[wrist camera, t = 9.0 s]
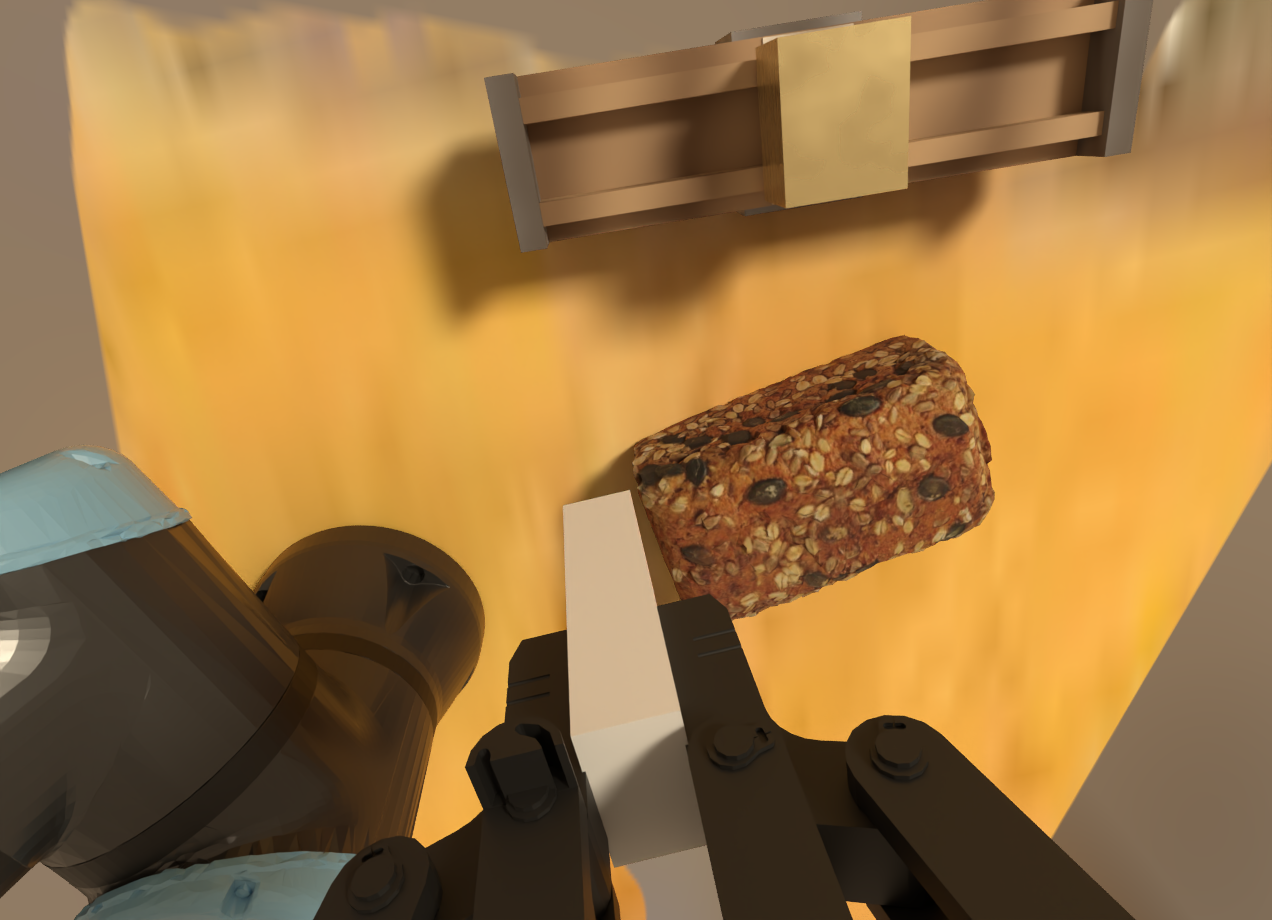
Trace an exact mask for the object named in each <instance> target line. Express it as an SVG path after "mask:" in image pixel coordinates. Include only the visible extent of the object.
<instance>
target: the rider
mask: <svg viewBox="0 0 1272 920" xmlns="http://www.w3.org/2000/svg"><path fill="white" fill-rule="evenodd" d="M755 50H756V66H757V82H758V98H759V114H760V130H761V146H762V162H763V178H764V194H765V201H767V202H770V203H772V204H775V205H778V206H781V207H783V208H792V207H798V206H804V205H810V204H816V203H822V202H828V201H834V200H840V199H846V198H853V197H859V196H865V195H871V194H877V193H883V192H889V191H895V190H901V189H907V188H908V146H909V99H910V52H911V16H907V17H901V18H895V19H888V20H882V21H876V22H870V23H864V24H858V25H851V26H845V27H839V28H833V29H827V30H821V31H815V32H808V33H802V34H796V35H790V36H784V37H778V38H775V39H773V40H771V41H769V42H767V43H765V44H763V45H761V46H758V47H756V48H755Z"/></svg>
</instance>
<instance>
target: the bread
mask: <svg viewBox="0 0 1272 920" xmlns="http://www.w3.org/2000/svg"><path fill="white" fill-rule="evenodd" d="M974 395H975V394H974V392H973V391H972V389H971V388H970V387H969V386H968V385H967V381H966V377H965V373H964V372H963V370H962V369H961V367H960V366H959V364H958V363H957V362H956V361H955V360H953V359H952V358H951V357H949V356H948V355H947V354H946V353H945V352H942V351H938V350H936V349H935V348H934V347H932V346H931V345H929V344H928V343H926V342H925V341H924V340H920V339H919V338H910V337H907V336H905V335H904V336H899V337H894V338H890V339H887V340H884V341H882V342H879V343H876V344H874V345H873V346H870V347H868V348H865V349H863V350H860V351H858V352H855V353H853V354H850V355H846V356H843V357H840V358H837V359H835V360H833V361H832V362H831V363H830V364H826V365H820V366H817V367H814V368H812V369H808V370H805V371H803V372H801V373H799V374H798V375H796V376H794V377H789V378H787V379H786V380H785V381H782V382H778V383H775V384H772V385H770V386H769V387H767V388H762V389H759V390H757V391H755V392H753V393H751V394H749V395H745V396H741V397H738V398H736V399H734V400H733V402H732V403H730V404H728V405H718V406H716V407H714V408H712V409H710V410H708V411H705V412H703V413H700V414H697V415H695V416H692V417H690V418H688V419H685V420H683V421H681V422H679V423H677V424H675V425H672V426H670V427H668V428H666V429H664V430H662V431H661V432H659V433H657V434H655V435H652V436H649V437H647V438H645V439H643V440H641V441H640V442H639V443H638V444H636V445H635V448H634V455H635V460H634V461H633V462H632V464H633V473H634V476H635V479H636V481H637V483H638V487H637V488H638V494H639V496H640V498H641V501H642V503H643V506H644V508H645V510H646V513H647V517H648V519H649V521H650V523H651V526H652V529H653V531H654V533H655V536H656V538H657V541H658V544H659V547H660V550H661V552H662V555H663V558H664V561H665V563H666V565H667V567H668V569H669V572H670V574H671V576H672V578H673V581H674V584H675V587H676V590H677V592H678V594H679V596H680V599H681V600H686V599H690V598H694V597H698V596H702V595H707V594H710V595H712V596H713V597H714V598H715V599H716V600H718V601H719V602H720V603H721V604H722V605H724V606H725V607H726V608H727V610H728V612H729V615H730V617H731V620H734V619H738V618H744V617H748V616H749V617H752V616H756V615H757V614H758V613H759V612H760V611H762V610H764V609H766V608H768V607H770V606H778V605H779V604H783V603H789V602H792V601H794V600H796V599H798V598H799V597H801V596H802V597H805V596H807V595H809V594H811V593H814V592H818V591H819V590H820V589H821V588H822V587H824V586H827V585H833V584H834V583H835V582H836V581H846V580H848V579H851V578H853V577H855V576H856V575H857V574H859V573H860V572H862V571H864V570H866V569H869V568H871V567H872V566H874V565H875V564H877V563H880V562H883V561H887V560H890V559H893V558H896V557H899V556H901V555H904V554H907V553H916V552H920V551H923V550H925V549H926V548H928V547H930V546H933V545H935V544H936V543H938V542H939V541H946V540H949V539H950V538H956V537H959V536H961V535H962V534H963V533H965V532H967V531H969V530H971V529H972V528H974V527H976V526H979V525H980V524H981V523H982V521H983V520H984V518H985V517H986V515H987V514H988V512H989V510H990V508H991V506H992V504H993V501H994V496H995V492H994V490H993V489H992V486H991V477H990V470H989V468H988V465H987V463H989V462H990V461H991V460H992V457H991V446H990V443H989V441H988V438H987V433H986V430H985V428H984V426H983V424H982V421H981V420H980V419H979V417H978V414H977V410H976V408H975V406H974V404H973V400H974Z"/></svg>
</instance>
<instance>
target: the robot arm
mask: <svg viewBox="0 0 1272 920" xmlns="http://www.w3.org/2000/svg"><path fill="white" fill-rule="evenodd" d="M191 518H192V517H191V515H190V514H189V512H188V511H187V510H186V509H183V508H178V507H177V506H176V505H175V504H174V503H173V502H172V501H171V500H170V499H169V498H168V497H167V496H166V495H165V494H164V493H163V492H162V491H161V490H160V489H159V488H158V487H157V486H156V485H155V484H154V483H153V482H152V481H151V480H150V479H149V478H148V477H147V476H146V475H145V474H144V473H143V472H142V471H141V470H140V469H139V468H138V467H137V466H136V465H135V464H134V463H133V462H132V461H131V460H129V459H128V458H127V457H125V456H124V455H122V454H120V453H118V452H116V451H114V450H111V449H108V448H105V447H100V446H93V445H78V446H71V447H66V448H63V449H60V450H57V451H54V452H51V453H49V454H46V455H44V456H41V457H39V458H37V459H34V460H32V461H29V462H27V463H24V464H22V465H20V466H17V467H15V468H12V469H10V470H8V471H5V472H3V473H0V898H1V897H2V896H3V895H4V894H5V893H6V892H7V891H8V890H9V889H10V888H11V887H12V886H13V885H15V883H16V882H18V881H19V880H20V879H21V878H22V877H23V876H24V875H25V874H26V873H27V872H28V871H29V870H30V869H31V868H33V867H34V866H35V865H36V864H37V863H38V862H41V863H42V864H43V865H45V866H47V867H49V868H50V869H51V870H53V871H54V872H55V873H57V874H58V875H59V876H61V877H62V878H64V879H65V880H66V881H68V882H69V884H71V885H72V886H74V887H75V888H77V889H78V890H79V891H80V892H82V893H83V894H84V895H85V896H86V897H87V898H88V902H89V904H88V905H87V906H85V907H84V908H83V909H82V911H81V912H80V913H79V914H78V915H77V916H76V917H75V919H74V920H621V919H620V909H619V903H618V900H617V897H616V893H615V890H614V887H613V884H612V881H611V869H610V857H609V853H610V856H611V859H612V862H613V865H614V868H615V867H619V866H623V865H627V864H631V863H635V862H639V861H643V860H647V859H651V858H656V857H660V856H664V855H668V854H672V853H676V852H680V851H684V850H688V849H693V848H697V847H701V846H705V845H707V848H708V852H709V857H710V861H711V866H712V871H713V875H714V879H715V884H716V889H717V893H718V898H719V902H720V907H721V911H722V916H723V920H853V919H852V916H851V914H850V911H849V908H848V906H847V903H846V901H850V902H859V903H866V905H867V907H868V908H869V909H870V911H871V912H872V914H873V915H874V917H875V918H876V920H1135V919H1134V918H1133V917H1132V916H1131V915H1130V914H1129V913H1128V912H1127V911H1126V910H1125V909H1124V908H1123V907H1122V906H1121V905H1119V903H1118V902H1116V901H1115V900H1114V899H1113V898H1112V897H1111V896H1110V895H1109V894H1108V893H1107V892H1106V891H1105V890H1104V889H1103V888H1102V887H1101V886H1100V885H1098V883H1097V882H1096V881H1094V880H1093V879H1092V878H1091V877H1090V876H1089V875H1088V874H1087V873H1086V872H1085V871H1084V870H1083V869H1082V868H1081V867H1080V866H1079V865H1078V864H1077V863H1076V862H1075V861H1073V859H1071V858H1070V857H1069V856H1068V855H1067V854H1066V853H1065V852H1064V851H1063V850H1062V849H1061V848H1060V847H1059V846H1058V845H1057V844H1056V843H1055V842H1053V840H1052V839H1051V838H1049V837H1048V836H1047V835H1046V834H1045V833H1044V832H1043V831H1042V830H1041V829H1040V828H1039V827H1038V826H1037V825H1036V824H1035V823H1034V822H1033V821H1032V820H1031V819H1030V818H1029V817H1027V816H1026V815H1025V814H1024V813H1023V812H1022V811H1021V810H1020V809H1019V808H1018V807H1017V806H1016V805H1015V804H1014V803H1013V802H1012V801H1011V800H1010V799H1009V798H1008V797H1007V796H1006V795H1004V794H1003V793H1002V792H1001V791H1000V790H999V789H998V788H997V787H996V786H995V785H994V784H993V783H992V782H991V781H990V780H989V779H988V778H987V777H986V776H985V775H984V774H982V773H981V772H980V771H979V770H978V769H977V768H976V767H975V766H974V765H973V764H972V763H971V762H970V761H969V760H968V759H967V758H966V757H965V756H964V755H963V754H962V753H960V752H959V751H958V750H957V749H956V748H955V747H954V746H953V745H952V744H951V743H950V742H949V741H948V740H947V739H946V738H945V737H944V736H943V735H942V734H940V733H939V732H938V731H936V730H935V729H933V728H932V727H930V726H929V725H927V724H926V723H924V722H922V721H918V720H915V719H912V718H909V717H906V716H891V715H883V716H880V717H876V718H872V719H869V720H866V721H864V722H863V723H862V724H860V725H859V726H858V727H856V728H855V729H854V730H852V732H851V734H850V736H849V738H848V740H847V742H842V741H820V740H813V739H805V738H802V737H799V736H796V735H794V734H791V733H789V732H788V731H786V730H784V729H783V728H781V727H779V726H778V725H777V724H776V723H775V722H774V721H773V720H772V719H771V718H770V716H769V714H768V712H767V711H766V709H765V707H764V704H763V702H762V699H761V696H760V694H759V691H758V688H757V686H756V683H755V681H754V678H753V675H752V673H751V670H750V667H749V665H748V662H747V660H746V657H745V654H744V652H743V649H742V648H741V644H740V641H739V638H738V636H737V633H736V632H735V628H734V625H733V623H732V620H731V617H730V615H729V612H728V610H727V608H726V607H725V606H724V605H722V604H721V603H720V602H719V601H718V600H716V599H715V598H714V597H713V596H712V595H710V594H707V595H702V596H698V597H694V598H690V599H686V600H681V601H677V602H673V603H669V604H665V605H660V606H657V603H656V599H655V595H654V590H653V586H652V582H651V578H650V573H649V569H648V565H647V561H646V556H645V552H644V548H643V544H642V539H641V535H640V531H639V527H638V523H637V518H636V514H635V510H634V506H633V501H632V497H631V493H630V490H627V491H623V492H619V493H614V494H610V495H606V496H602V497H597V498H593V499H589V500H585V501H580V502H576V503H572V504H568V505H563V522H564V552H565V583H566V613H567V630H563V631H559V632H555V633H551V634H546V635H542V636H538V637H534V638H530V639H525V640H522V641H521V643H520V645H519V647H518V648H517V650H516V652H515V653H514V655H513V657H512V659H511V660H510V662H509V675H508V688H507V700H506V703H507V707H506V712H505V722H504V723H502V724H499V725H498V726H496V727H495V728H493V729H492V730H491V731H489V732H488V733H487V734H485V735H484V736H482V738H481V739H480V740H479V741H478V743H477V744H476V745H475V746H474V748H473V749H472V750H471V752H470V755H469V757H468V760H467V763H466V766H465V768H466V771H467V773H468V775H469V778H470V780H471V782H472V784H473V787H474V789H475V791H476V794H477V796H478V798H479V801H480V803H481V805H482V807H483V811H482V812H480V813H479V814H478V815H477V816H476V817H475V818H474V819H473V820H472V821H471V822H469V823H468V824H466V825H465V826H463V827H462V828H460V829H459V830H457V831H456V832H454V833H452V834H450V835H448V836H446V837H445V838H443V839H441V840H439V841H437V842H436V843H434V844H432V845H430V846H428V847H426V848H425V847H424V846H422V845H421V844H420V843H419V842H418V841H417V840H416V839H415V838H412V835H413V830H414V825H415V821H416V816H417V812H418V807H419V802H420V798H421V793H422V789H423V784H424V779H425V775H426V770H427V766H428V761H429V756H430V752H431V747H432V742H433V737H434V733H435V729H436V726H437V725H438V723H439V722H440V720H441V719H442V717H443V716H444V714H445V713H446V711H447V710H448V709H449V707H450V706H451V704H452V703H453V701H454V700H455V698H456V697H457V695H458V694H459V693H460V692H461V691H462V689H463V688H464V687H465V686H466V684H467V683H468V681H469V680H470V678H471V676H472V675H473V673H474V670H475V668H476V666H477V663H478V660H479V656H480V652H481V647H482V641H483V636H484V629H485V617H484V610H483V605H482V602H481V599H480V596H479V594H478V591H477V589H476V587H475V585H474V584H473V582H472V581H471V579H470V577H469V576H468V575H467V574H466V572H465V571H464V570H463V569H462V568H461V567H460V565H459V564H458V563H457V562H455V561H454V560H453V559H452V558H451V557H450V556H449V555H447V554H446V553H445V552H443V551H442V550H440V549H439V548H437V547H436V546H434V545H432V544H431V543H429V542H427V541H425V540H423V539H421V538H418V537H416V536H413V535H411V534H408V533H405V532H402V531H398V530H394V529H389V528H384V527H377V526H344V527H337V528H332V529H328V530H324V531H320V532H318V533H315V534H312V535H310V536H308V537H305V538H303V539H301V540H300V541H298V542H296V543H295V544H293V545H291V546H290V547H289V548H288V549H286V550H285V551H284V552H283V553H282V554H281V555H279V557H278V558H277V559H276V560H275V561H274V562H273V564H272V565H271V566H270V568H269V569H268V570H267V572H266V573H265V575H264V576H263V578H262V579H261V580H260V582H259V583H258V585H257V587H256V588H255V590H254V592H253V591H252V590H251V589H250V588H249V587H248V586H247V584H246V583H245V582H244V581H243V580H242V579H241V578H240V577H239V576H238V574H237V573H236V572H235V571H234V570H233V569H232V568H231V567H230V566H229V564H228V563H227V562H226V561H225V560H224V559H223V558H222V557H221V555H220V554H219V553H218V552H217V551H216V550H215V549H214V548H213V547H212V545H211V544H210V543H209V542H208V541H207V540H206V539H205V537H204V536H203V535H202V534H201V533H200V532H199V530H198V529H197V528H196V527H195V526H194V525H193V523H192V522H191V521H190V520H189V519H191Z"/></svg>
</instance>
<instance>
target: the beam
mask: <svg viewBox="0 0 1272 920" xmlns="http://www.w3.org/2000/svg"><path fill="white" fill-rule="evenodd" d="M1152 5H1153V0H986V1H980V2H973V3H967V4H962V5H955V6H949V7H943V8H936V9H930V10H924V11H918V12H912V13H906V14H899V15H893V16H887V17H882V18H875V19H869V20H862V11H858V12H851V13H845V14H839V15H833V16H826V17H820V18H814V19H808V20H802V21H796V22H790V23H783V24H777V25H772V26H765V27H759V28H753V29H747V30H740V31H734V32H730V33H729V34H727V35H726V36H724V37H723V38H721V39H720V40H718V41H717V42H715V45H709V46H702V47H696V48H690V49H684V50H678V51H672V52H665V53H659V54H653V55H647V56H641V57H635V58H629V59H622V60H616V61H610V62H604V63H598V64H592V65H585V66H579V67H573V68H567V69H561V70H555V71H549V72H542V73H536V74H530V75H524V76H518V77H517V76H516V75H515V74H514V73H511V74H504V75H498V76H492V77H486V78H484V80H485V85H486V89H487V94H488V99H489V104H490V108H491V113H492V118H493V122H494V127H495V132H496V137H497V141H498V146H499V151H500V155H501V160H502V165H503V170H504V174H505V179H506V184H507V188H508V193H509V198H510V202H511V207H512V212H513V217H514V221H515V226H516V231H517V235H518V240H519V245H520V250H521V253H522V252H528V251H534V250H540V249H546V248H548V244H549V242H552V241H559V240H565V239H571V238H577V237H583V236H589V235H595V234H601V233H607V232H613V231H619V230H626V229H632V228H638V227H644V226H650V225H656V224H662V223H668V222H674V221H680V220H687V219H693V218H699V217H705V216H711V215H717V214H723V213H729V212H735V211H736V212H738V213H740V214H742V215H744V216H749V215H755V214H761V213H767V212H773V211H779V210H785V209H791V208H783V207H781V206H778V205H775V204H772V203H770V202H767V201H765V194H764V178H763V162H762V146H761V130H760V114H759V98H758V82H757V66H756V50H755V48H756V47H758V46H761V45H763V44H765V43H767V42H769V41H771V40H773V39H775V38H778V37H784V36H790V35H796V34H802V33H808V32H815V31H821V30H827V29H833V28H839V27H845V26H851V25H858V24H864V23H870V22H876V21H882V20H888V19H895V18H901V17H907V16H911V52H910V99H909V146H908V183H912V182H918V181H924V180H930V179H936V178H943V177H949V176H955V175H961V174H967V173H973V172H979V171H985V170H991V169H997V168H1004V167H1010V166H1016V165H1022V164H1028V163H1034V162H1040V161H1046V160H1052V159H1058V158H1065V157H1071V156H1096V157H1107V156H1113V155H1119V154H1125V153H1131V147H1132V140H1133V133H1134V127H1135V120H1136V113H1137V106H1138V100H1139V93H1140V86H1141V79H1142V73H1143V66H1144V59H1145V52H1146V45H1147V38H1148V32H1149V25H1150V18H1151V12H1152ZM859 197H863V196H859ZM853 198H858V197H853ZM846 199H852V198H846ZM846 199H840V200H846ZM840 200H834V201H840ZM834 201H828V202H834ZM828 202H822V203H828ZM822 203H816V204H822ZM816 204H810V205H816ZM810 205H804V206H810ZM804 206H798V207H804ZM798 207H792V208H798Z"/></svg>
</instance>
